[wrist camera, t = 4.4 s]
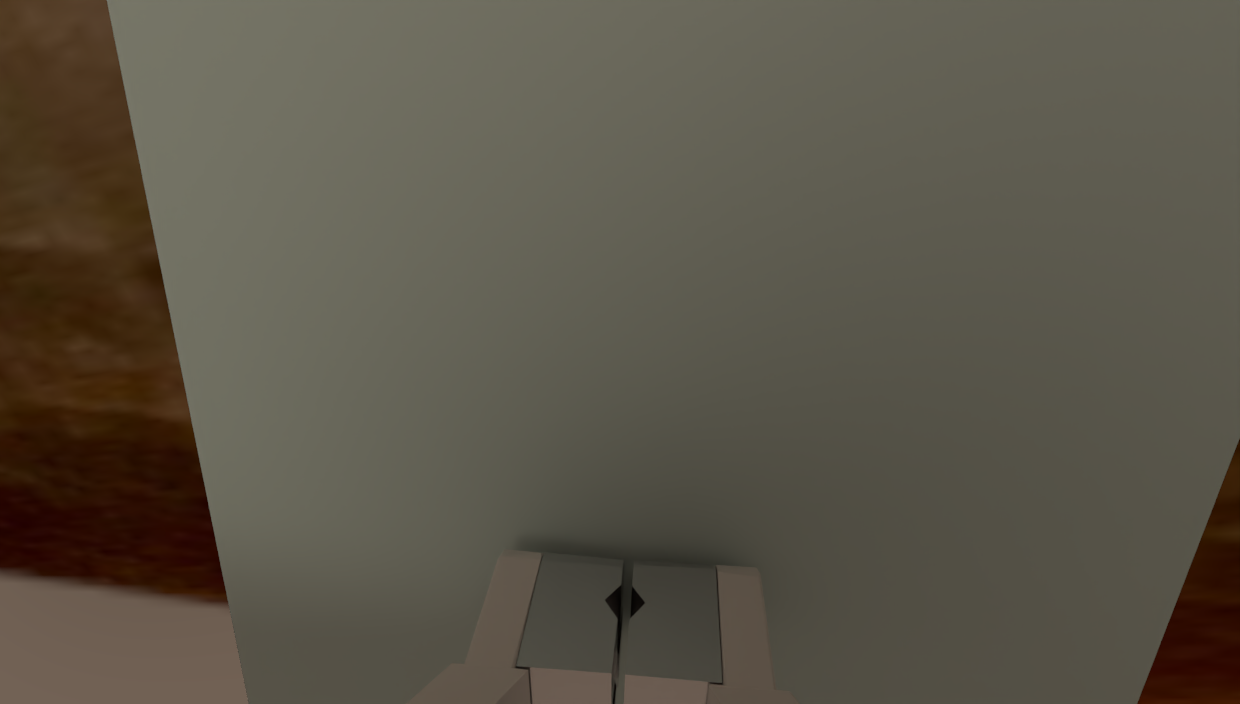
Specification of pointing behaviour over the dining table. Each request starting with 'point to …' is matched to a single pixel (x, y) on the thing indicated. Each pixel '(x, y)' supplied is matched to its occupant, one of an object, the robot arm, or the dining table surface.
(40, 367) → the dining table surface
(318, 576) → the lid
